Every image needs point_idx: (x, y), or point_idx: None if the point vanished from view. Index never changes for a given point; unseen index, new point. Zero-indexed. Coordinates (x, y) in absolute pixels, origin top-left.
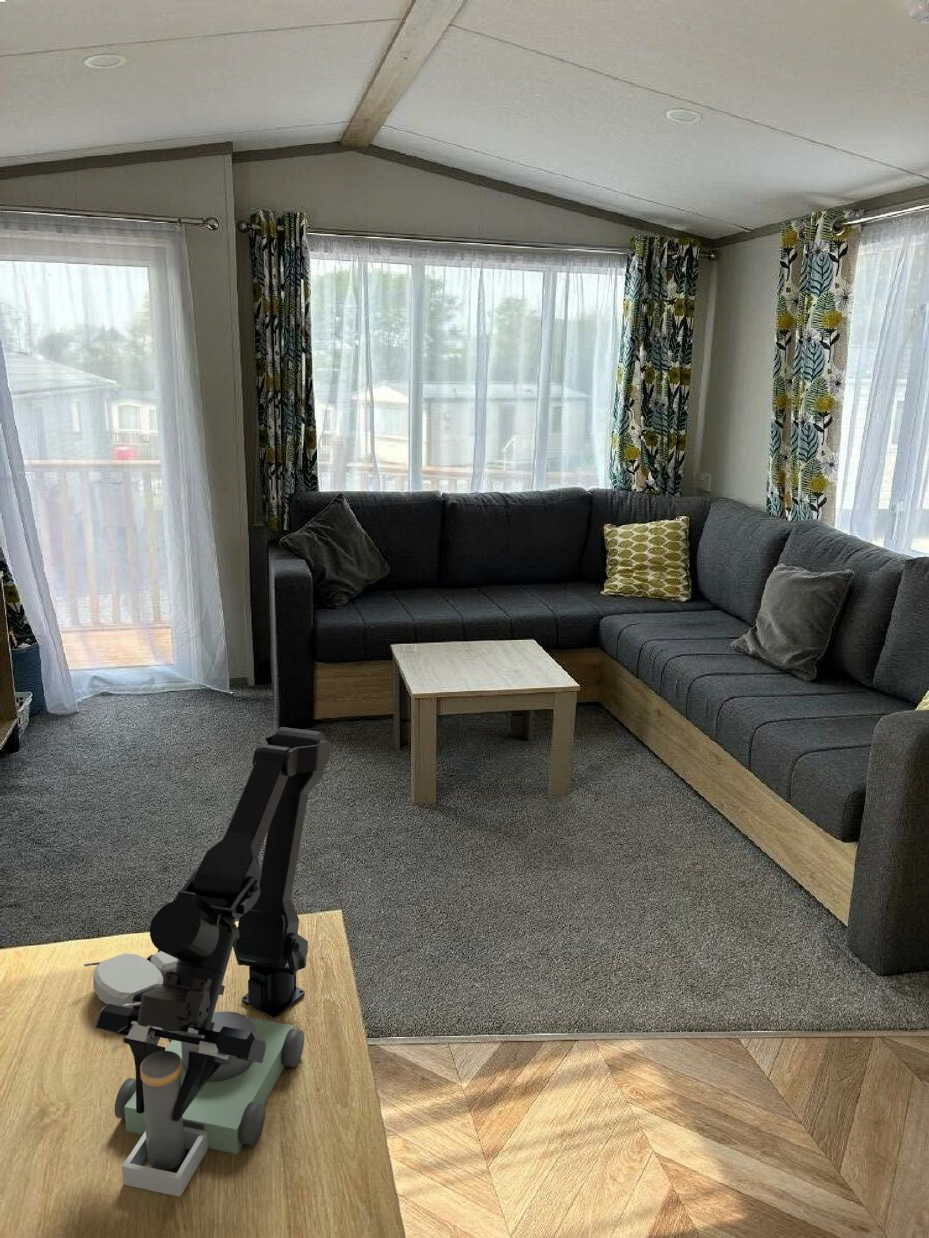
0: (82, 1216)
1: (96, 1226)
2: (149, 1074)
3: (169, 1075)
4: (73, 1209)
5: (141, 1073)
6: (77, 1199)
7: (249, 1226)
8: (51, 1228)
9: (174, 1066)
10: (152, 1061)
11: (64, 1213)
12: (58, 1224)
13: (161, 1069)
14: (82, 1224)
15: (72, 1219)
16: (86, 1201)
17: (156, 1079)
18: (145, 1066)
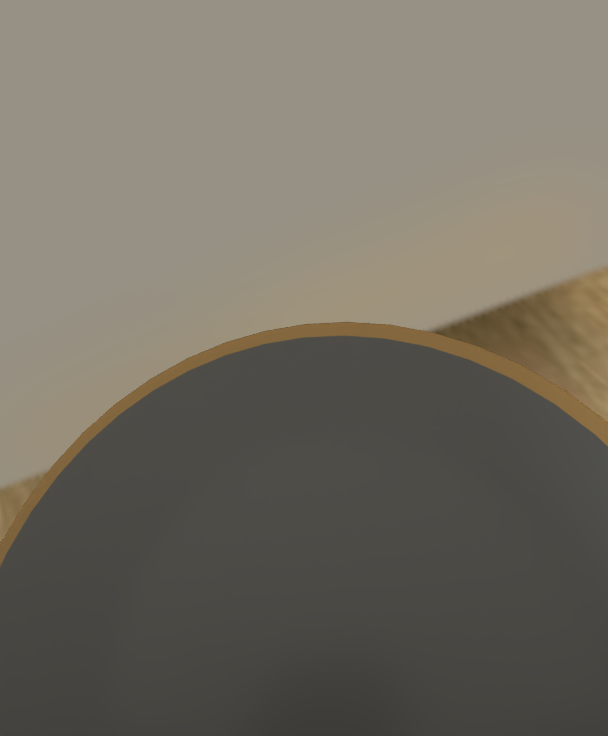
0: (525, 338)
1: (456, 327)
2: (360, 375)
3: (51, 490)
4: (574, 347)
5: (523, 375)
6: (595, 381)
7: (23, 486)
8: (581, 275)
9: (13, 711)
10: (538, 711)
11: (589, 326)
12: (573, 292)
13: (217, 544)
14: (502, 317)
15: (546, 319)
16: (559, 386)
17: (210, 351)
18: (572, 520)
